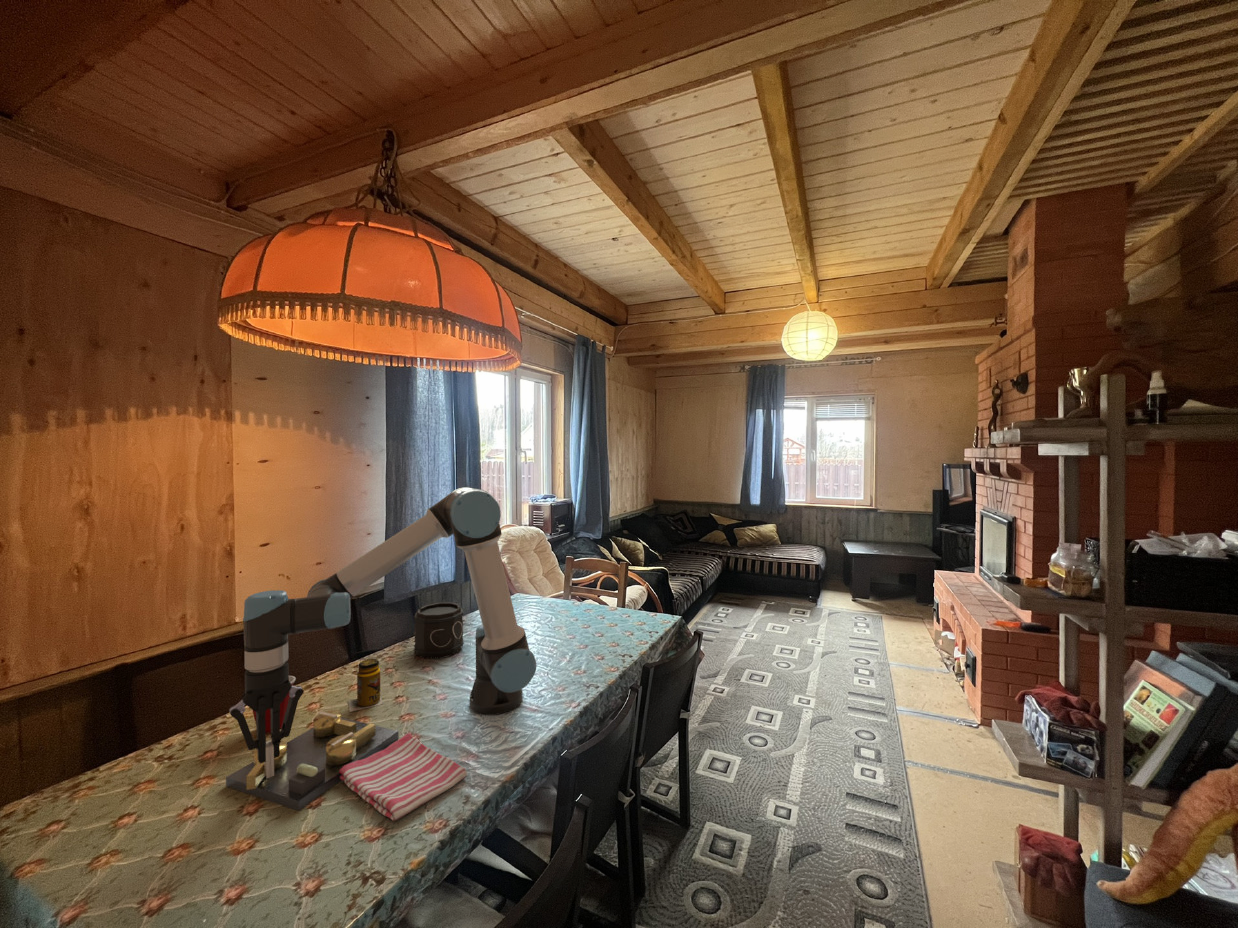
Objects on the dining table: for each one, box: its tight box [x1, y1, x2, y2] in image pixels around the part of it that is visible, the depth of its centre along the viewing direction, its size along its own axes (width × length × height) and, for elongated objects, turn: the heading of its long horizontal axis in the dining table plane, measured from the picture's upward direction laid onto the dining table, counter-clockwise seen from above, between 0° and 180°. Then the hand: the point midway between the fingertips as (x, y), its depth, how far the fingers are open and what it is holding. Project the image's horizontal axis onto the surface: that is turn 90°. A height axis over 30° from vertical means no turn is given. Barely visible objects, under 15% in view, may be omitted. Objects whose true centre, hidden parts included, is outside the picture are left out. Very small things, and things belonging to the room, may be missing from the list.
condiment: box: [347, 658, 384, 713], centre depth 137 cm, size 7×8×12 cm
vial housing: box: [289, 764, 325, 795], centre depth 99 cm, size 5×5×4 cm
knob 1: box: [247, 739, 288, 790], centre depth 102 cm, size 12×6×4 cm, turn 15°
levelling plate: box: [225, 717, 399, 812], centre depth 110 cm, size 22×26×2 cm
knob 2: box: [312, 709, 356, 737], centre depth 118 cm, size 12×6×4 cm, turn 71°
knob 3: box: [326, 723, 376, 765], centre depth 110 cm, size 12×6×4 cm, turn 161°
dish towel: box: [339, 732, 468, 821], centre depth 103 cm, size 17×23×4 cm
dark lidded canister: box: [413, 602, 465, 660], centre depth 175 cm, size 18×18×16 cm
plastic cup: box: [252, 675, 297, 735], centre depth 124 cm, size 11×11×12 cm
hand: (269, 774), depth 100 cm, fingers closed
